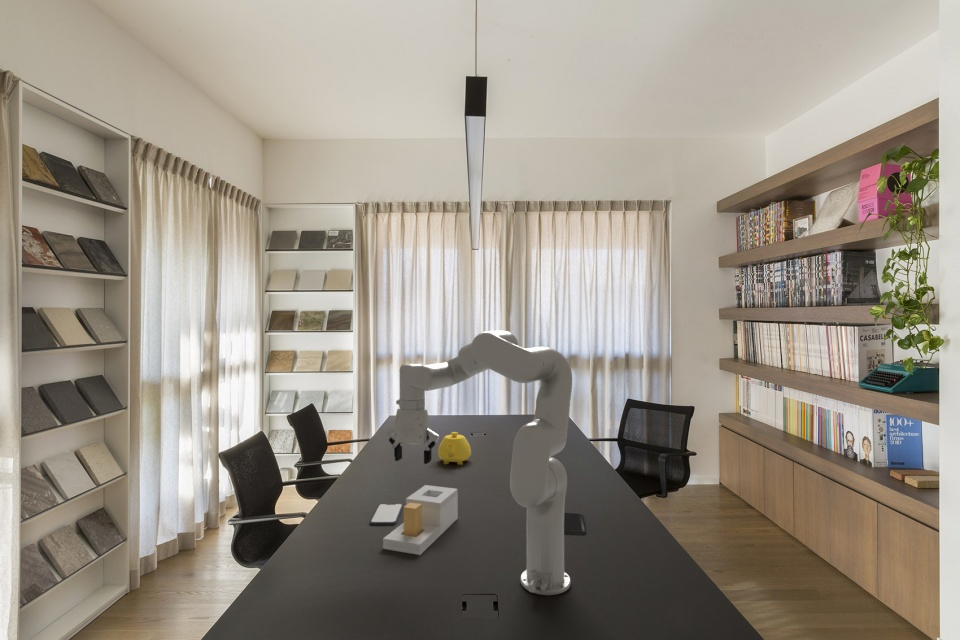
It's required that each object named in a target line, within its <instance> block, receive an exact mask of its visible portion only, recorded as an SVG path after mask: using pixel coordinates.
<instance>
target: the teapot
mask: <svg viewBox="0 0 960 640" xmlns="http://www.w3.org/2000/svg"><path fill="white" fill-rule="evenodd" d="M437 455H438V457H439V458H440V459H441V461H443V465H449V464H450V463H453V462H454V463H456V465H457V466H458V465H459V466H463V465H464V462H465V461H466V460H467V461H468V459H469V458H470V457H471V455H472V449H471V446H470V443H469V441H468V439H467V438H466V437H465V436H464V435H463V434H459V432H457V431H451V432H450V434H447V435H445V436H444V437H443V438H442V440H441V442H440V444H439V446H438V449H437Z"/></svg>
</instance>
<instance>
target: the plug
mask: <svg viewBox="0 0 960 640" xmlns="http://www.w3.org/2000/svg"><path fill="white" fill-rule="evenodd" d="M403 523H404V535H407V536H414V537H417V536H418V535H420V534H421V533H422V504H418V503H411V502H410V503H408V504H407V505H406V504H405V506H404V505H403Z"/></svg>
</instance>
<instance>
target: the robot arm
mask: <svg viewBox="0 0 960 640" xmlns="http://www.w3.org/2000/svg"><path fill="white" fill-rule="evenodd" d="M487 370H491V371H493V372H495V373H496V374H499V375H501V376H503V377H504V378H507V379H509V380H511V381H513V382H516V383H519V384H529V383H533V382H537V381H540V387H539V389H538V393H537V395H536V399H535V410H534V416H533V420H532V421H531V422H527V423H525V424H524V425H522V426H521V427H520V428H519V429H518V431H517V432H516V434H515V437H514V440H513V446H512V453H511V454H512V455H511V456H512V457H511V463H510V465H511V466H510V474H509V488H510V493H511V495H512V498H513V499H514V501H515V502H516V503H517V504H518V505H520V506H521V507H523V508H526V530H525V531H526V569H525V570H524V571H523V572H522V573H521V575H520V584H521V585H522V587H523V588H524V589H525V590H527V591H528V592H530V593H532V594H536V595H541V596H554V595H559V594H562V593H565V592H566V591H567V590H569V589H570V587H571V581H572V580H571V577H570V575H569V574H568V573H567V572H565V534H564V513H565V504H566V503H565V502H566V494H567V486H568V475H567V472H566V468H565V467H564V464H562V462H560V461H559V460H558V459H556V458H555V457H554V456H556V454H559V453H561V452H562V451H563V449H564V448H565V447H566V444H567V440H568V439H567V438H568V429H569V420H570V408H571V398H572V397H571V396H572V390H573V373H572V372H573V371H572V369H571V366H570V364H569V362H568V360H567V359H566V358H565V356H564V355H563V354H562V353H561V352H559V351H558V350H556V349H554V348H552V347H548V346H532V347H525V348H523V347H522V346H519V342H518V339H517V337H516V336H515V334H513V333H512V332H510V331H507V330H504V329H503V330H501V329H500V330H486V331H482V332H480V333H478V334H477V335H476V336H475V337H474V338H473V340H472V342H470V343H468V344H466V345H464V346H462V347H461V348H459V351H458V356H456V357H453V358H452V359H448V360H447V361H444V362H437V363H431V364H430V363H429V364H422V363H415V362H413V363H411V362H410V363H403V364H401V365H400V367H399V399H397V400H396V402H395V404H396V405H399V408H396V409H397V410H396V414H395V419H394V427H393V428H392V429H390V430H388V431H387V432H386V436H387V438H388V441H389V443H390V444H391V445H392V448H393V449H394V450H393V452H394V453H393V456H394V461H395V462H398V461H400V460H402V459H403V446H402V445H401V444H405V445H406V444H407V445H409V444H410V445H422V447H423V448H424V449H425V450H424V451H423V464H424V465H427V464H429V463H430V462H431V461H432V449H433V448H434V447H435V446H436V445H437V443H438V441H439V438H440V436H441V435H439V434H438V433H437V432H435V431H433V430H432V429H430V426H431V425H430V419H429V413H428V409H427V408H426V399H425V398H426V392H428V391H434V390H438V389H444V388H449V387H451V386H454V385H457V384H459V383H462V382H464V381H467V380H469V379H470V378H472V377H475V376H476V375H478V374H480V373H483V372H484V371H487ZM430 438H432V440H431V441H430Z"/></svg>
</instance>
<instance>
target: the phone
mask: <svg viewBox="0 0 960 640" xmlns="http://www.w3.org/2000/svg"><path fill="white" fill-rule="evenodd" d="M586 532H587V531H586V524H585V518H584V515H583V514H582V513H574V512H573V513H570V512H569V513H568V512H564V535H565V534H566V535H585V534H586Z"/></svg>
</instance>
